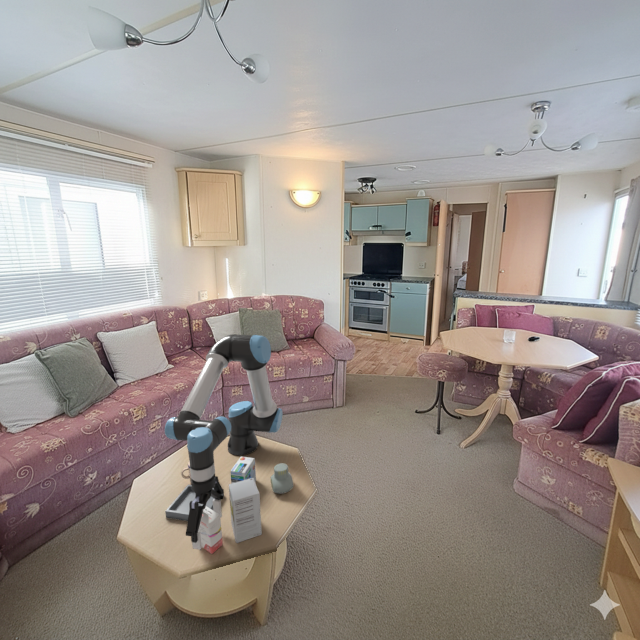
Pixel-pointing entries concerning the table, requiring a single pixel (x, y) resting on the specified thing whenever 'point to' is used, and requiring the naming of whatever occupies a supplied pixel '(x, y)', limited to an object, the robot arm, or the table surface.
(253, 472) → the light bulb box
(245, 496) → the supplement box
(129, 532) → the table surface
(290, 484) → the air freshener
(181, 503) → the tray
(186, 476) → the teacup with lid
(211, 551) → the ink cartridge box
